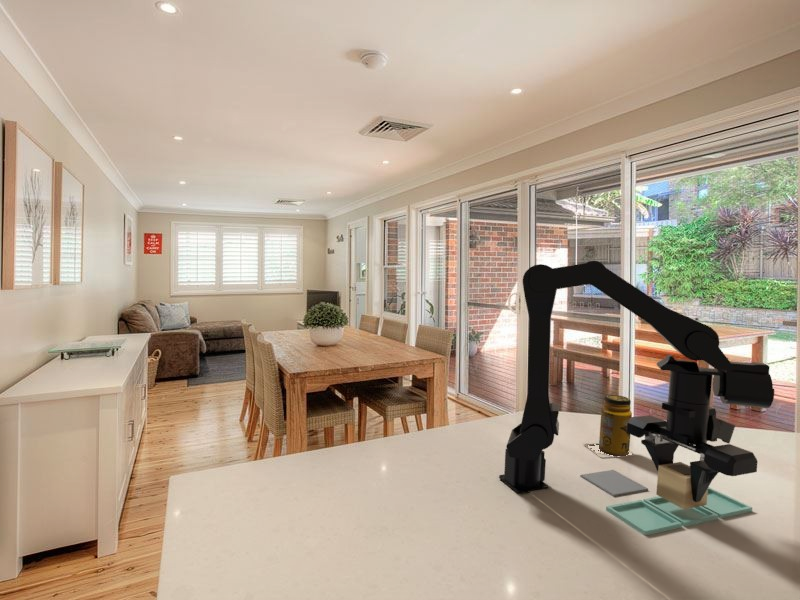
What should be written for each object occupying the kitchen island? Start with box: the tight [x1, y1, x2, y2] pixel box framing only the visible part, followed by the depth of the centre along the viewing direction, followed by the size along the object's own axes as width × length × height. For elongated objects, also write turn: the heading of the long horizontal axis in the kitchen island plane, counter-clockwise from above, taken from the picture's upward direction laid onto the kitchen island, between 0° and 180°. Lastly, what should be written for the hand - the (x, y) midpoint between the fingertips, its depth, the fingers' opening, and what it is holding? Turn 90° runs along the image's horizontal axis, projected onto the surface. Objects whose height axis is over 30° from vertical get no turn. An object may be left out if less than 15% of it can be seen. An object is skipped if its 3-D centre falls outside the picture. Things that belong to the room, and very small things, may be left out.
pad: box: [579, 469, 649, 498], centre depth 85 cm, size 8×8×1 cm
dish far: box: [702, 486, 753, 519], centre depth 79 cm, size 8×8×1 cm
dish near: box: [605, 499, 683, 536], centre depth 73 cm, size 8×8×1 cm
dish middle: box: [642, 495, 719, 528], centre depth 76 cm, size 8×8×1 cm
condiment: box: [583, 394, 636, 458], centre depth 101 cm, size 7×8×12 cm
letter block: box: [655, 461, 708, 509], centre depth 76 cm, size 5×5×5 cm
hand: (681, 493), depth 76 cm, fingers closed on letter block, 5 cm apart
